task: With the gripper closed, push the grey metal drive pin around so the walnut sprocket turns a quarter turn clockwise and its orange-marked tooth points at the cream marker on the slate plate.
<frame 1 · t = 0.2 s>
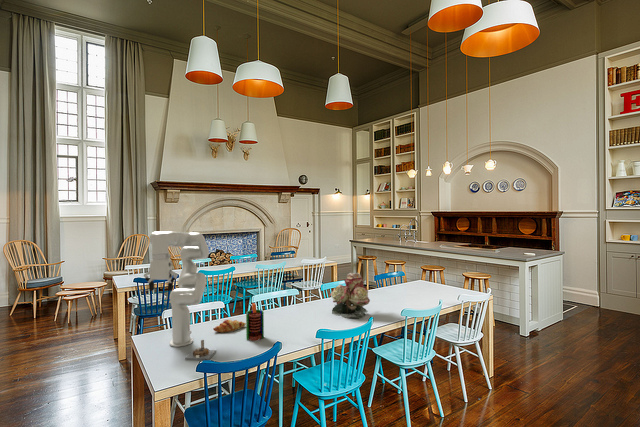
hand: (161, 290, 179), 36 cm above the table, tool pointing down, fingers open, 9 cm apart
rose bouquet: (352, 314, 255), on the table
base plate: (201, 355, 185), on the table
croissant: (230, 330, 224), on the table
motor: (254, 338, 209), on the table
sprocket: (200, 347, 184), point 4 cm above the table, hinge at 0.0°
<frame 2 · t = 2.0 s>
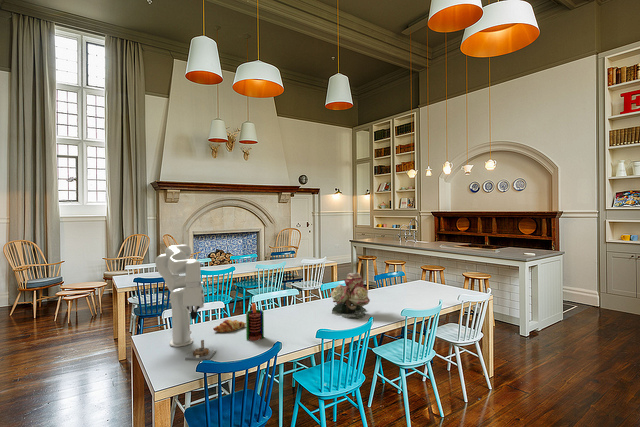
hand: (193, 318, 187), 19 cm above the table, tool pointing down, fingers closed
nothing on the table moved.
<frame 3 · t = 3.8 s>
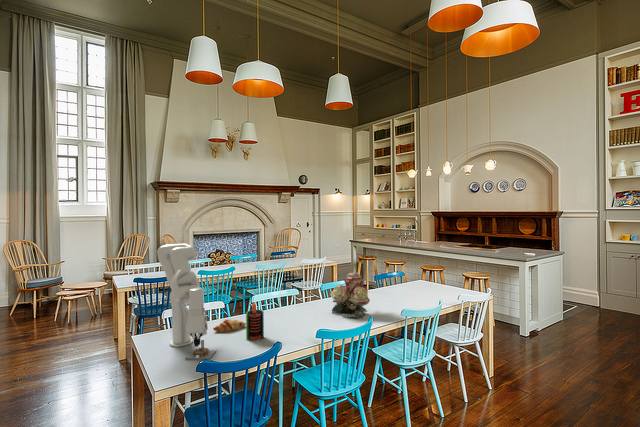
hand: (197, 345, 187), 4 cm above the table, tool pointing down, fingers closed
sprocket: (200, 347, 184), point 4 cm above the table, hinge at -0.2°, touching gripper
everything else where it was.
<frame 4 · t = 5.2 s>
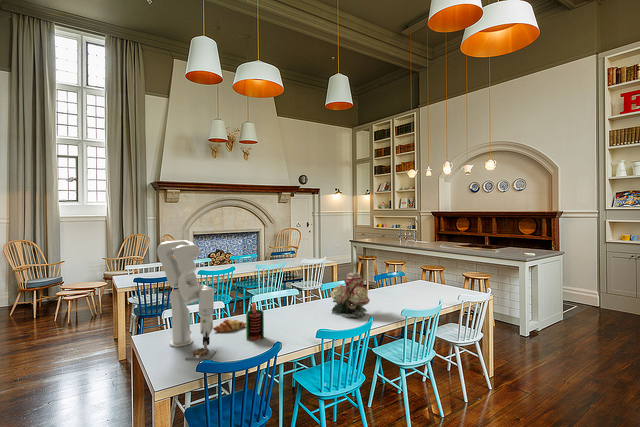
hand: (206, 344, 188), 5 cm above the table, tool pointing down, fingers closed
sprocket: (200, 347, 184), point 4 cm above the table, hinge at -76.9°, touching gripper
everything else where it was.
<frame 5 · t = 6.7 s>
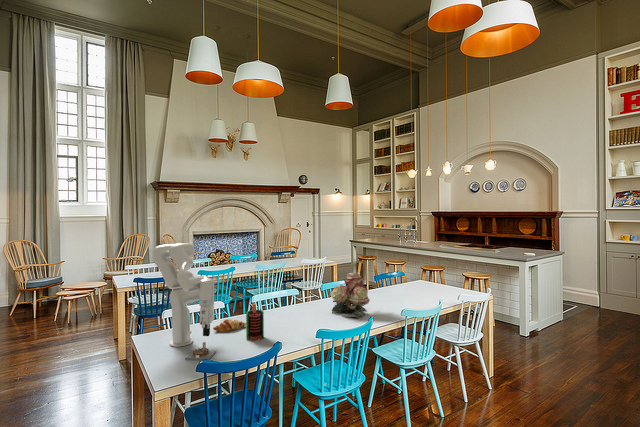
hand: (206, 335, 189), 9 cm above the table, tool pointing down, fingers closed
sprocket: (200, 347, 184), point 4 cm above the table, hinge at -113.3°
everything else where it was.
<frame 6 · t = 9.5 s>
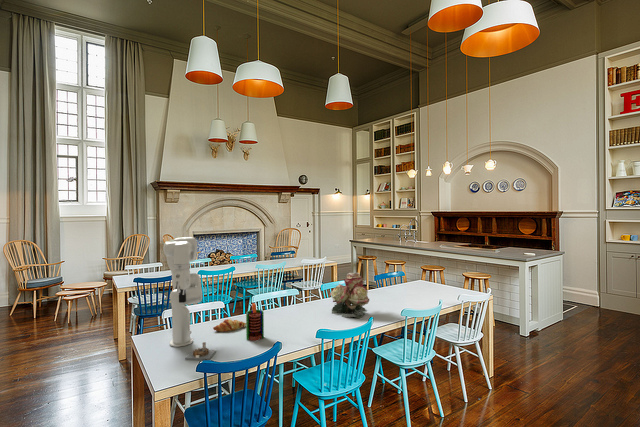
hand: (182, 302, 182), 29 cm above the table, tool pointing down, fingers closed
sprocket: (200, 347, 184), point 4 cm above the table, hinge at -113.7°
at the end: sprocket at -114° (first picture: +0°) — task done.
